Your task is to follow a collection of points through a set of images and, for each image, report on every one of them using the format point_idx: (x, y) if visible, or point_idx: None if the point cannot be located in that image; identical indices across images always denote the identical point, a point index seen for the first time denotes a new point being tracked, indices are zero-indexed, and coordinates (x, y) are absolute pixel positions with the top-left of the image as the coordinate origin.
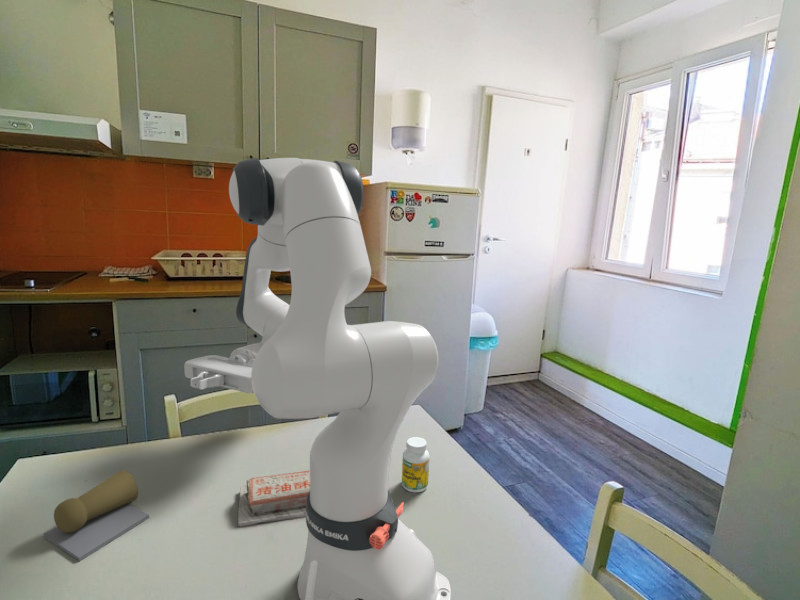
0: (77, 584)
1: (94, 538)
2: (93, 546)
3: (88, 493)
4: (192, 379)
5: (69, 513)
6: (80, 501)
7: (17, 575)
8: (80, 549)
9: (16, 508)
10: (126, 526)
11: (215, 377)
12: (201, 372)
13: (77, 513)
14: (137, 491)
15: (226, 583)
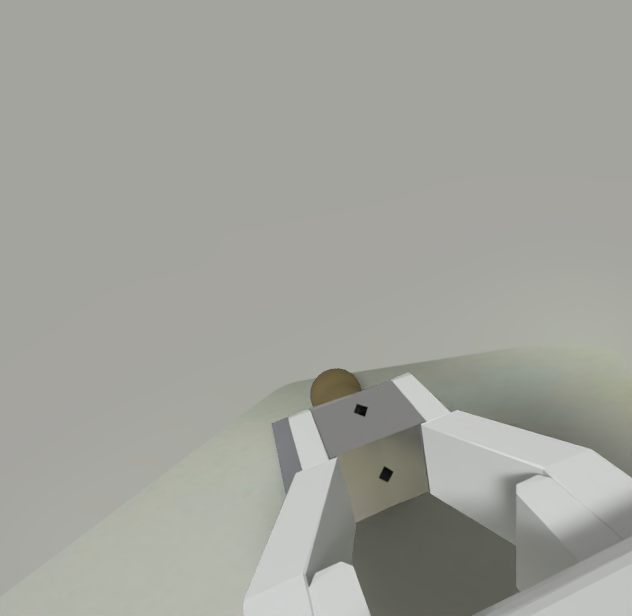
0: (236, 428)
1: None
2: (279, 435)
3: (341, 392)
4: (391, 379)
5: (313, 382)
6: (326, 386)
7: (303, 385)
8: (287, 424)
9: (454, 363)
10: (287, 473)
11: (264, 556)
12: (579, 449)
13: (311, 391)
14: None
15: (19, 597)
